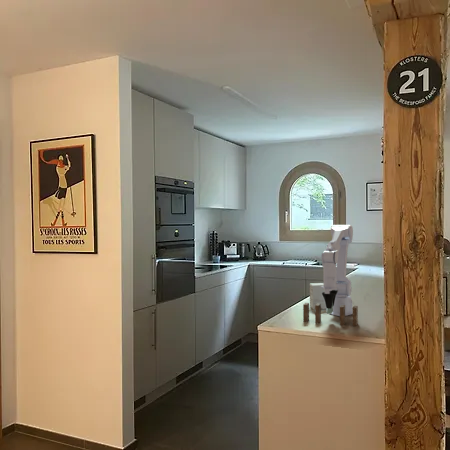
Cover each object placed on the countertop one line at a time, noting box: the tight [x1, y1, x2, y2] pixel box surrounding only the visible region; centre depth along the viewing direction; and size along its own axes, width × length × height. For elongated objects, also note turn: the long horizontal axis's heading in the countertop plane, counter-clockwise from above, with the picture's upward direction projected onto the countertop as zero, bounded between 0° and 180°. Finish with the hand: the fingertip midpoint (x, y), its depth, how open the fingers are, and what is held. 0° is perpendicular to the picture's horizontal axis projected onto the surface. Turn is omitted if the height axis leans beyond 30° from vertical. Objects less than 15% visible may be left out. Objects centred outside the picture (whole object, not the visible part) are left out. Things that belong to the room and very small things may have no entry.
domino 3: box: [326, 303, 333, 315], centre depth 211 cm, size 2×5×8 cm, turn 157°
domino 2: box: [314, 303, 322, 324], centre depth 214 cm, size 2×5×8 cm, turn 157°
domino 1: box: [302, 302, 310, 323], centre depth 216 cm, size 2×5×8 cm, turn 157°
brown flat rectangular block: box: [352, 305, 359, 327], centre depth 207 cm, size 2×5×8 cm, turn 157°
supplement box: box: [309, 282, 327, 310], centre depth 245 cm, size 7×7×13 cm
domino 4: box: [339, 305, 346, 326], centre depth 209 cm, size 2×5×8 cm, turn 157°
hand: (330, 307), depth 211 cm, fingers closed on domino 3, 5 cm apart
